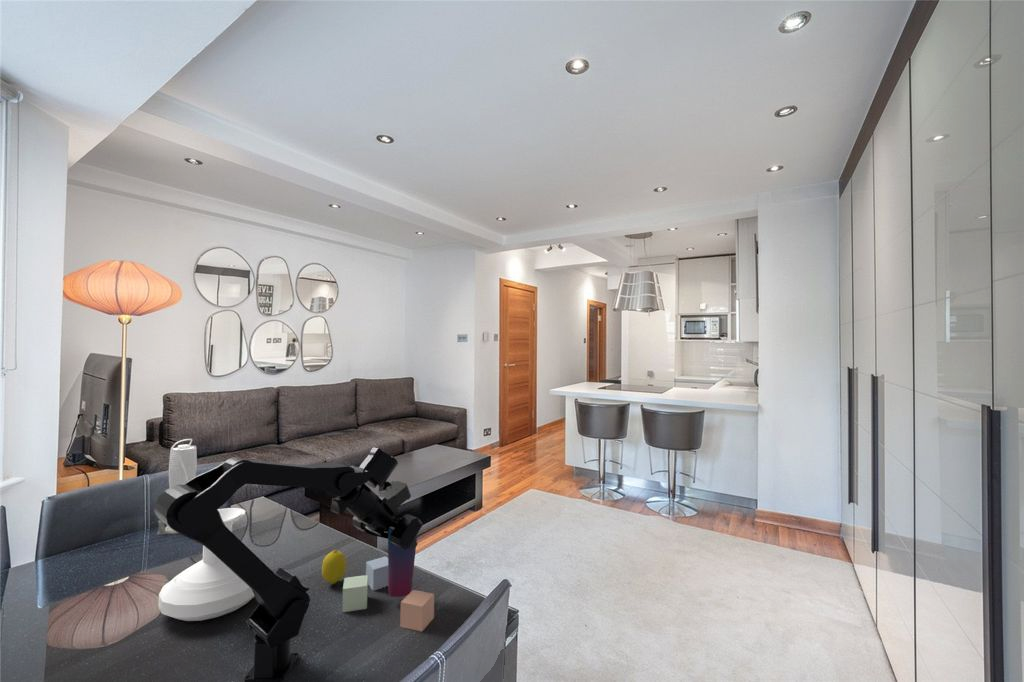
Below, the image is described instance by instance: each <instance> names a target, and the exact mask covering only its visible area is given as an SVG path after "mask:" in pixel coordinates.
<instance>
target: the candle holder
mask: <svg viewBox="0 0 1024 682" xmlns="http://www.w3.org/2000/svg"><path fill="white" fill-rule="evenodd" d="M217 510H218V511H219V513H220V515H221V518H222V520H223V522H224V524H225V526H226V527H227V528H228V529H229V530H230V531H231V532H232V533H233V524H234V523H236V522H237V521H238V520H239V519H241V518H242V517H243V516H244V515H245V514H246V510H245V509H243V508H240V507H239V508H238V507H227V508H218V509H217ZM253 598H255V596H254V593H253V591H252V589H251V588H250V587H249V586H248V585H247V584H246V583H245V582H243V581H242V580H241V579H240V578H239V577H238V576H237V575H236V574H235V573H233V572H232V571H231V570H230V569H229V568H228V567H227V566H226V565H225V564H223V563H222V562H221V561H220V560H219V559H218V558H217V557H216V556H215V555H213V554H212V553H211V552H210V551H209V550H208V549H207V548H206V547H204V546H203V545H202V559H201V560H199V561H197V562H196V563H194V564H193V565H191V566H189V567H188V568H186V569H184V570H183V571H181V572H180V573H178V574H177V575H175V576H174V577H173V578H172V579H171V580H170V581H168V582H167V583H166V584H164V585H163V586H162V588H161V590H160V592H159V594H158V608H159V611H160V612H161V614H162V615H165V616H167V617H171V618H173V619H177V620H180V621H184V622H196V621H197V622H199V621H200V622H201V621H205V620H210V619H211V620H212V619H215V618H218V617H222V616H224V615H227V614H229V613H232V612H234V611H236V610H238V609H240V608H241V607H243V606H244V605H246V604H248V603H249V602H250V601H251V600H252V599H253Z"/></svg>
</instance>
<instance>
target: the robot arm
mask: <svg viewBox="0 0 1024 682" xmlns="http://www.w3.org/2000/svg"><path fill="white" fill-rule="evenodd" d="M397 466H399V462H398V460H397V459H396V458H395V457H394V456H391V455H390V454H389V453H387V452H385V451H383V450H382V449H381V448H380V447H377V446H373V447H372V448H371V450H370V451H369V453H368V455H367V456H366V458H364V460H363V461H362V462H361V464H360V465H359V467H358V466H354V465H345V464H343V463H339V462H334V461H329V462H328V461H327V462H317V463H313V464H294V463H286V462H277V461H276V462H275V461H265V460H264V461H263V460H256V459H246V458H244V457H243V458H242V457H239V456H235V457H231V458H228V459H227V460H225V461H223V462H222V463H220V464H219V465H218V466H216V467H213V468H211V469H209V470H206V471H205V472H202V473H200V474H198V475H195V477H194V478H192V479H191V480H189V481H188V482H186V483H184V484H183V485H177V486H173V487H171V488H170V487H169V488H167V489H165V490H164V491H163V492H162V493H161V494H160V495H159V496H158V498H157V499H156V501H155V505H154V509H153V511H154V513H155V516H156V517H157V518H158V520H159V519H160V520H162V521H163V522H164V523H165V526H167V525H168V526H169V527H170V528H172V529H173V530H175V531H176V532H178V534H181V535H182V536H184V537H186V538H187V539H190V540H192V541H193V542H196V543H198V544H200V545H202V547H203V546H204V547H206V548H207V549H208V550H209V551H210V552H211V553H212V554H213V555H215V556H216V557H217V558H218V559H219V560H220V561H221V562H222V563H223V564H225V565H226V566H227V567H228V568H229V569H230V570H231V571H232V572H233V573H235V574H236V575H237V576H238V577H239V578H240V579H241V580H242V581H243V582H245V583H246V584H247V585H248V586H249V587H250V588H251V589H252V591H253V593H254V598H255V599H256V601H257V603H258V604H257V606H255V608H254V609H253V610H252V612H251V613H250V614H249V616H248V617H247V618H246V620H245V622H246V624H247V626H248V629H249V630H250V631H252V632H253V633H254V634H255V636H254V651H253V656H254V657H253V666H252V668H251V669H250V670H249V671H248V672H247V673H246V675H244V679H243V680H244V681H243V682H282V681H283V680H284V679H285V677H286V676H287V674H288V673H289V672H290V670H291V669H292V667H293V665H294V664H295V663H296V661H297V659H298V658H299V657H300V656H299V654H300V653H299V652H292V639H293V638H295V637H297V636H298V635H299V633H300V631H301V626H302V625H303V620H304V617H305V615H306V613H307V611H308V608H309V607H310V602H311V598H310V595H309V593H308V591H309V590H310V588H309V587H308V586H306V585H305V584H303V583H302V582H301V581H300V580H299V578H298V577H297V576H296V575H295V574H293V573H292V572H290V571H289V570H288V569H286V568H284V567H283V566H279V568H278V570H276V572H274V571H273V570H272V569H271V568H270V567H269V566H267V565H266V563H264V561H262V560H261V559H260V558H259V557H258V556H257V555H256V554H255V553H254V552H253V551H252V549H250V548H249V547H247V546H246V545H245V544H244V543H243V542H242V540H240V539H239V538H238V537H237V536H236V535H235V533H233V531H232V532H231V531H230V530H229V529H228V528H227V527H226V526H225V524H224V522H223V520H222V518H221V515H220V513H219V511H218V510H217V509H220V508H222V506H223V505H225V504H226V503H227V502H228V501H229V500H230V498H232V497H233V495H234V494H235V493H237V492H238V490H239V489H241V488H242V487H243V486H245V485H259V486H260V485H261V486H262V485H263V486H273V487H275V486H277V487H289V488H290V487H293V488H307V489H312V490H315V491H318V492H321V493H325V494H329V495H333V496H336V497H334V498H332V499H331V505H330V512H332V513H335V514H337V515H343V514H344V512H345V511H346V510H347V511H348V512H350V513H351V514H352V515H353V517H352V522H351V523H352V524H351V525H352V526H354V527H355V528H356V529H357V530H359V531H362V532H365V533H366V534H369V535H370V536H373V537H377V538H378V537H379V538H383V539H387V540H388V531H389V529H390V528H391V529H394V530H393V531H392V533H391V534H390V542H392V545H395V546H397V547H399V548H402V549H404V550H406V549H408V548H417V546H418V541H416V539H415V537H416V535H417V536H418V533H419V532H420V530H421V528H423V522H422V520H421V519H420V518H418V517H417V516H413V515H412V514H409V513H406V514H404V515H402V516H401V519H400V518H399V517H396V516H397V515H398V513H399V512H400V509H399V507H401V505H403V503H405V502H407V500H410V499H411V497H412V494H411V491H410V489H409V486H408V485H407V482H406V483H405V482H402V481H399V480H397V481H396V480H395V481H394V480H392V481H388V479H389V477H390V476H391V475H392V473H393V472H394V471H395V469H396V468H397ZM369 486H370V487H371V488H373V489H376V488H377V486H378V495H377V494H376V492H374V491H373V490H372V489H371V488H370V487H369Z"/></svg>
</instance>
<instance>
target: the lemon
mask: <svg viewBox="0 0 1024 682" xmlns="http://www.w3.org/2000/svg"><path fill="white" fill-rule="evenodd" d="M346 570H347V560H346V556H345V555H344V553H343V552H341V551H339V550H336V549H334V550H332V551H331V552H328V554H326V555H325V557H324V559H323V561H322V564H321V575H322V578H323V580H324V581H325V582H327V583H330V584H331V585H335V584H336V583H337V582H338V581H340V580H341V579H343V577H344V576H345V573H346Z"/></svg>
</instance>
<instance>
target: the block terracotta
mask: <svg viewBox="0 0 1024 682" xmlns="http://www.w3.org/2000/svg"><path fill="white" fill-rule="evenodd" d="M399 618H400V619H399V620H400V621H399V622H400V624H399V625H400V628H404V629H409V630H413V631H416V632H422V633H423V631H424V630H425V629H426V627H427V626H428V625H429V624H430V623H431V622H432V621H433V619H434V618H435V593H432V592H426V591H422V590H417V589H413V590H411V592H410V593H409V594H408V595H406V596H405V597H404V598H403V600H401V601H400V617H399Z"/></svg>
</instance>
